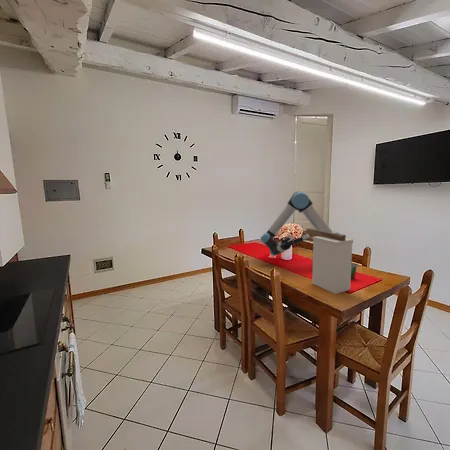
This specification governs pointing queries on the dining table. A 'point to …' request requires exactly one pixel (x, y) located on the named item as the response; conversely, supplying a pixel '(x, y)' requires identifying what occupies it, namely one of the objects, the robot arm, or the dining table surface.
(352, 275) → the food container
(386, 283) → the dining table surface
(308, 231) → the walnut bar
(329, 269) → the beige lidded bin
